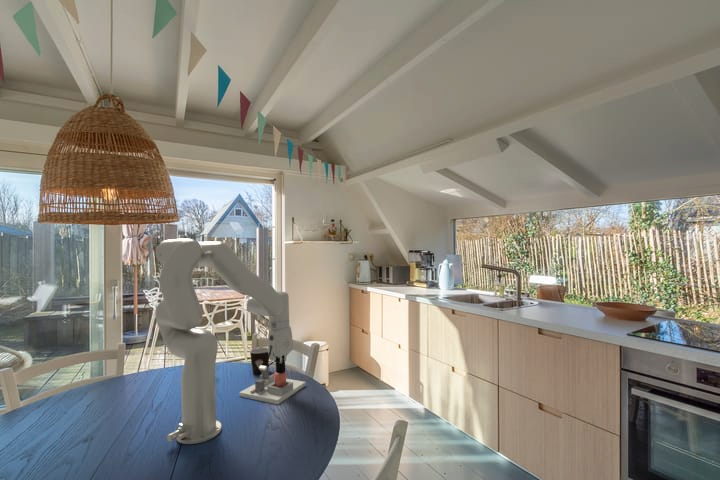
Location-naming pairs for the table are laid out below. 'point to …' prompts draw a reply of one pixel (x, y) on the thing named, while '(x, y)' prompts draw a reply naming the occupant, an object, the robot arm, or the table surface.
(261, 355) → the coffee mug
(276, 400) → the panel
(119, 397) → the table surface
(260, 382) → the slider
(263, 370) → the lever
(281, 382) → the button
